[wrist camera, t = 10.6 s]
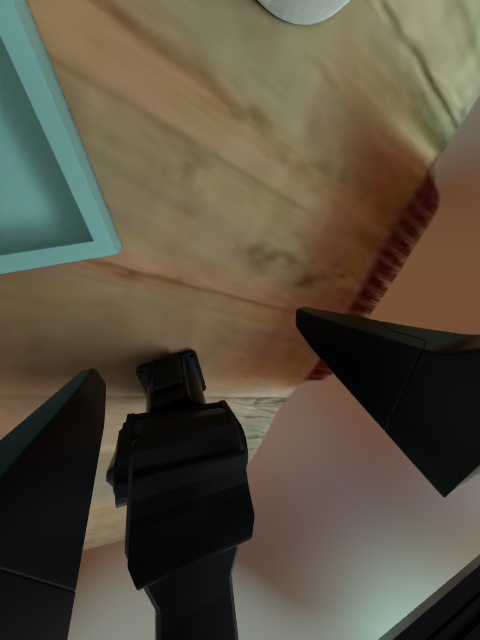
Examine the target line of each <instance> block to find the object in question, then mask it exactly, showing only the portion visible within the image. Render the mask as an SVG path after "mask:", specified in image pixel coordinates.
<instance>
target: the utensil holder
mask: <svg viewBox="0 0 480 640" xmlns="http://www.w3.org/2000/svg"><path fill="white" fill-rule="evenodd" d="M258 1H259V2H260V3H261V4H262V5H263V6H264V7H265V8H266V9H267V10H268V11H270V12H271V13H272V14H274V15H275V16H277V17H278V18H280V19H282V20H284V21H287V22H290V23H293V24H299V25H310V24H314V23H319V22H321V21H324V20H325V19H327V18H329V17H331V16H332V15H334V14H335V13H336V12H338V11H339V10H340V9H341V8H343V7H344V6H345V5H346V4H347V3H348V2H349V1H350V0H258Z"/></svg>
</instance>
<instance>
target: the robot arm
mask: <svg viewBox="0 0 480 640" xmlns="http://www.w3.org/2000/svg"><path fill="white" fill-rule="evenodd" d="M296 327H297V329H298V330H299V331H300V333H301V334H302V336H303V337H304V338H305V340H306V341H307V343H308V344H309V345H310V347H311V348H312V349H313V351H314V352H315V353H316V354H317V355H318V356H319V358H320V359H321V360H322V361H323V362H324V363H325V364H326V366H327V367H328V368H329V369H330V370H331V371H332V372H333V373H334V375H335V376H336V377H337V378H338V379H339V380H340V381H341V382H342V384H343V385H344V386H345V387H346V388H347V389H348V390H349V391H350V393H351V394H352V395H353V396H354V397H355V398H356V399H357V400H358V402H359V403H360V404H361V405H362V406H363V407H364V408H365V409H366V411H367V412H368V413H369V414H370V415H371V416H372V417H373V418H374V420H375V421H376V422H377V423H378V424H379V425H380V426H381V427H382V429H383V430H385V432H386V433H387V435H388V436H389V437H390V438H391V439H392V440H393V441H394V442H395V443H396V445H397V446H398V447H399V448H400V449H401V450H402V451H403V452H404V454H405V455H406V456H407V457H408V458H409V459H410V460H411V461H412V463H413V464H414V465H415V466H416V467H417V468H418V470H420V472H421V473H422V474H423V475H424V476H425V477H426V478H427V480H428V481H429V482H430V483H431V484H432V485H433V486H434V487H435V489H436V490H437V491H438V492H439V493H440V494H441V495H442V496H443V497H444V498H446V497H447V496H449V495H450V494H452V493H453V492H455V491H456V490H457V489H459V488H460V487H462V486H463V485H465V484H466V483H468V482H469V481H470V480H472V479H473V478H475V477H476V476H478V475H479V474H480V335H468V334H458V333H452V332H445V331H438V330H431V329H424V328H418V327H411V326H405V325H399V324H394V323H388V322H380V321H377V320H371V319H367V318H362V317H356V316H351V315H346V314H340V313H335V312H330V311H324V310H319V309H314V308H309V307H302V308H299V309H297V310H296ZM191 354H194V355H192V356H191ZM139 370H143V371H139ZM136 374H137V376H138V378H139V380H140V382H141V384H142V385H143V387H144V389H145V391H146V393H147V403H146V413H140V414H135V413H132V414H128V415H127V419H126V422H124V423H123V427H122V429H121V430H120V431H119V435H118V441H117V446H116V450H115V453H114V456H113V458H112V460H111V463H110V465H109V468H108V470H107V475H106V481H107V482H108V483H109V484H110V485H111V486H112V487H113V493H114V495H115V505H116V508H119V507H122V506H125V505H127V516H126V536H125V554H126V557H127V559H128V570H129V572H130V575H131V577H132V580H133V582H134V585H135V587H136V589H137V590H140V589H143V588H144V590H145V592H146V594H147V595H148V597H149V599H150V601H151V603H152V604H153V606H154V608H155V640H238V631H237V622H236V613H235V605H234V595H233V586H232V571H233V567H234V563H235V559H236V556H237V552H238V548H239V545H240V544H242V543H244V542H247V541H249V540H250V539H251V538H252V533H253V525H254V510H253V506H252V501H251V496H250V491H249V486H248V480H247V472H246V467H247V463H248V449H247V442H246V437H245V434H244V431H243V428H242V426H241V424H240V422H239V421H238V419H237V418H236V416H235V415H234V413H233V412H232V410H231V409H230V407H229V406H228V404H227V403H226V401H225V400H222V401H219V402H215V403H208V404H206V401H205V397H204V394H203V391H204V390H205V389H206V386H205V382H204V379H203V375H202V372H201V368H200V365H199V361H198V358H197V354H196V352H195V351H194V350H191V351H187V352H184V353H181V354H177V355H173V356H170V357H167V358H163V359H160V360H157V361H154V362H151V363H148V364H144V365H141V366H138V367H137V368H136ZM202 387H203V388H202ZM105 400H106V385H105V382H104V380H103V379H102V377H101V376H100V374H99V373H98V371H97V370H96V369H95V368H90V369H87V370H83V371H81V372H80V373H79V374H78V375H76V376H75V377H74V378H73V379H72V380H70V381H69V382H68V383H67V384H66V385H65V386H63V387H62V388H61V389H60V390H59V391H58V392H56V393H55V394H54V395H53V396H52V397H51V398H49V399H48V400H47V401H46V402H45V403H44V404H42V405H41V406H40V407H39V408H38V409H36V410H35V411H34V412H33V413H32V414H31V415H29V416H28V417H27V418H26V419H25V420H24V421H22V422H21V423H20V424H19V425H18V426H17V427H15V428H14V429H13V430H12V431H11V432H10V433H8V434H7V435H6V436H5V437H4V438H3V439H1V440H0V640H67V638H68V632H69V626H70V620H71V614H72V609H73V603H74V597H75V592H74V591H75V590H76V584H77V579H78V573H79V567H80V562H81V556H82V550H83V544H84V539H85V533H86V527H87V521H88V515H89V510H90V504H91V498H92V492H93V487H94V481H95V475H96V469H97V464H98V458H99V452H100V446H101V440H102V435H103V429H104V420H105ZM378 640H480V555H479V556H477V557H476V558H475V559H474V560H473V561H471V562H470V563H469V564H468V565H467V566H466V567H464V568H463V569H462V570H461V571H460V572H458V573H457V574H456V575H455V576H453V577H452V578H451V579H450V580H449V581H447V582H446V583H445V584H444V585H443V586H442V587H440V588H439V589H438V590H437V591H436V592H434V593H433V594H432V595H431V596H430V597H428V598H427V599H426V600H425V601H424V602H422V603H421V604H420V605H419V606H418V607H417V608H415V609H414V610H413V611H412V612H411V613H409V614H408V615H407V616H406V617H405V618H403V619H402V620H401V621H400V622H399V623H397V624H396V625H395V626H394V627H393V628H391V629H390V630H389V631H388V632H387V633H385V634H384V635H383V636H382V637H381V638H379V639H378Z"/></svg>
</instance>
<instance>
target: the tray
mask: <svg viewBox="0 0 480 640" xmlns="http://www.w3.org/2000/svg"><path fill="white" fill-rule="evenodd" d="M122 248H123V246H122V243H121V241H120V238H119V236H118V233H117V231H116V228H115V225H114V223H113V220H112V218H111V215H110V213H109V210H108V208H107V205H106V202H105V200H104V197H103V195H102V192H101V190H100V187H99V185H98V182H97V179H96V177H95V174H94V172H93V169H92V167H91V164H90V162H89V159H88V156H87V154H86V151H85V149H84V146H83V144H82V141H81V139H80V136H79V133H78V131H77V128H76V126H75V123H74V121H73V118H72V116H71V113H70V110H69V108H68V105H67V103H66V100H65V98H64V95H63V93H62V90H61V87H60V85H59V82H58V80H57V77H56V75H55V72H54V70H53V67H52V64H51V62H50V59H49V57H48V54H47V52H46V49H45V47H44V44H43V41H42V39H41V36H40V34H39V31H38V29H37V26H36V24H35V21H34V18H33V16H32V13H31V11H30V8H29V6H28V3H27V1H26V0H0V274H4V273H10V272H15V271H21V270H27V269H33V268H39V267H45V266H50V265H56V264H62V263H68V262H74V261H80V260H86V259H91V258H97V257H103V256H109V255H115V254H118V252H119V251H120V250H121V249H122Z"/></svg>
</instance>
